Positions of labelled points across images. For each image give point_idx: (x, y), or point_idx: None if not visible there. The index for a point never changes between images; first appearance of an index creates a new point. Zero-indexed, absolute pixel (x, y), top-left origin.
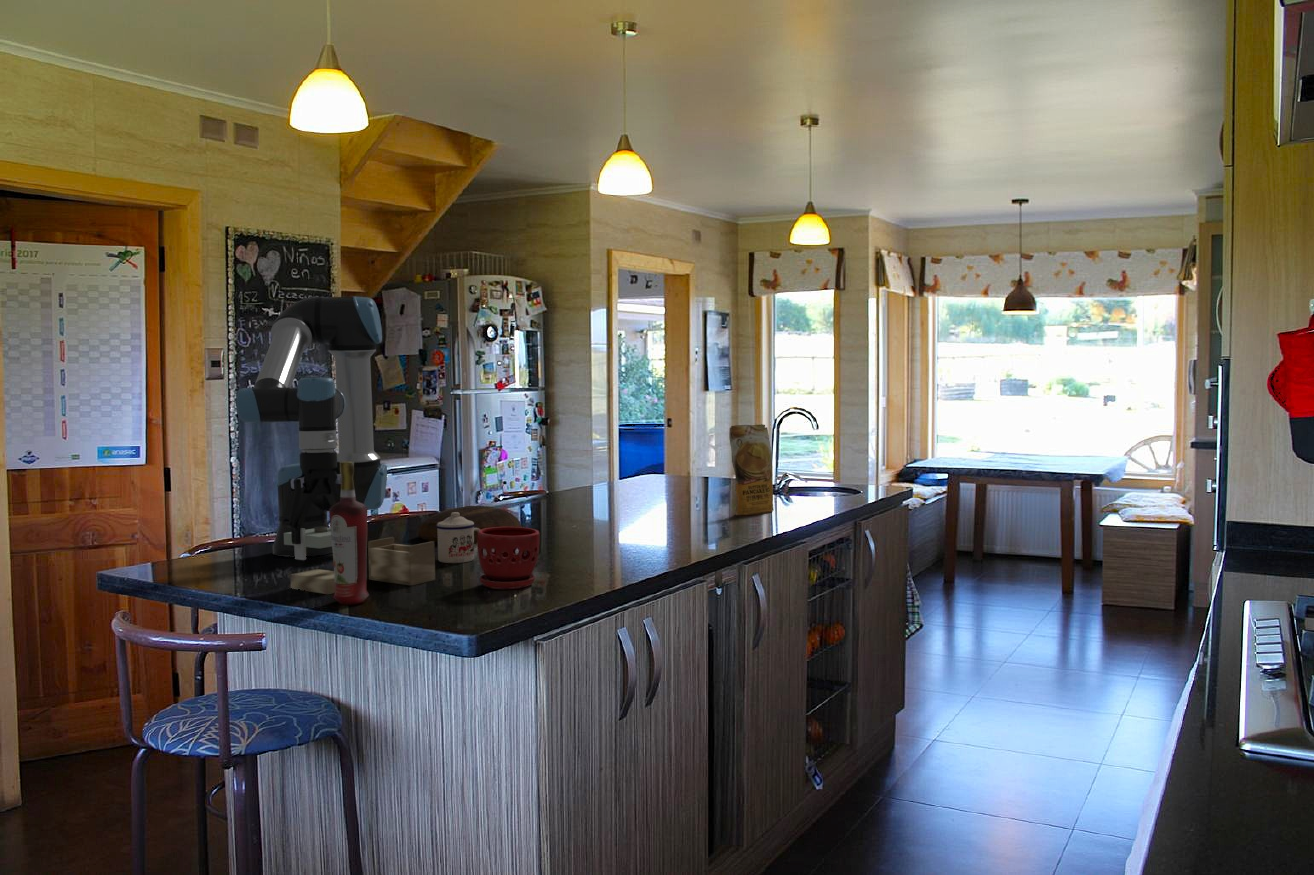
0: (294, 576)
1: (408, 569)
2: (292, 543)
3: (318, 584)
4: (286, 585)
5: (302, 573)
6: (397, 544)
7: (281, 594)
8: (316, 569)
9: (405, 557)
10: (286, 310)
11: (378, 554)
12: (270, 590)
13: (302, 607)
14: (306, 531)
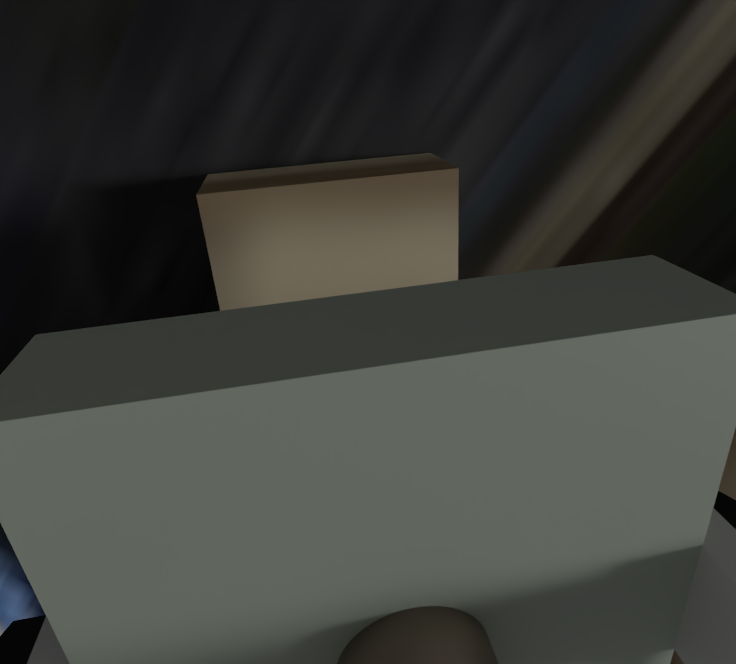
0: (207, 244)
1: None
2: (11, 625)
3: None
4: (243, 36)
5: (282, 238)
6: None
7: (76, 292)
8: (443, 181)
9: (673, 652)
10: None
11: (719, 488)
12: (69, 106)
13: (35, 611)
14: (328, 526)
